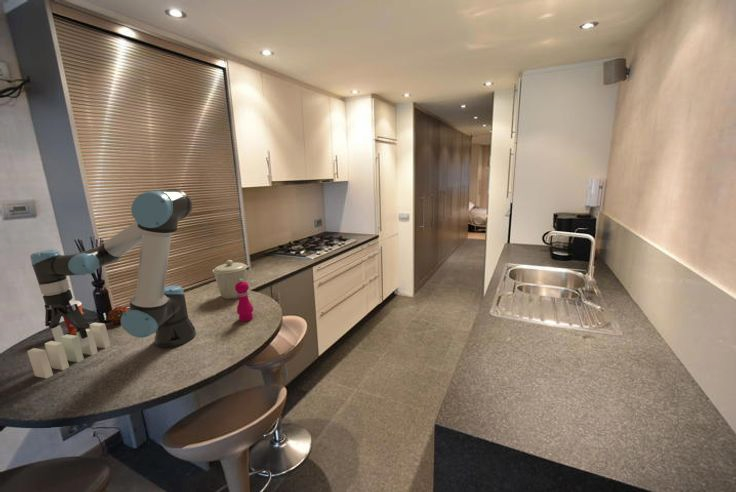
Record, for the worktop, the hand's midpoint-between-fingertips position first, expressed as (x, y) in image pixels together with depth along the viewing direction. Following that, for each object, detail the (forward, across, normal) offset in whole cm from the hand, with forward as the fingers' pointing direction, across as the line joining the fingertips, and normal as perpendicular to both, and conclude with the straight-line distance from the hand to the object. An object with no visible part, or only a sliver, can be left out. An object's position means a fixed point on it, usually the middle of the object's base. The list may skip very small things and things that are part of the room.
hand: (73, 344), depth 123 cm
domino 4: (+7, +1, -5) cm, 8 cm away
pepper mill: (+8, -43, -45) cm, 63 cm away
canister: (+8, -17, -69) cm, 71 cm away
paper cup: (+6, +27, -17) cm, 32 cm away
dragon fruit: (+7, +17, -29) cm, 34 cm away
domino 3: (+7, +1, 0) cm, 7 cm away
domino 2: (+7, +1, +5) cm, 8 cm away
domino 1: (+7, +1, +10) cm, 12 cm away
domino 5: (+7, +1, -10) cm, 12 cm away
